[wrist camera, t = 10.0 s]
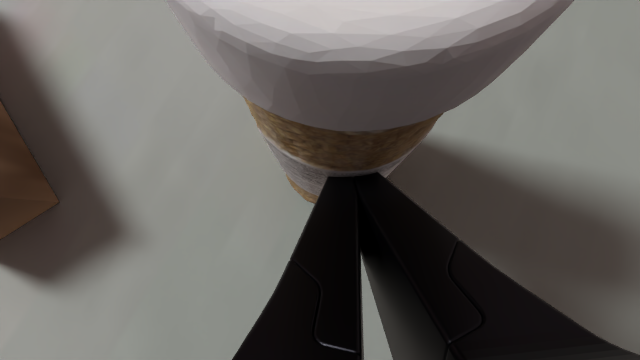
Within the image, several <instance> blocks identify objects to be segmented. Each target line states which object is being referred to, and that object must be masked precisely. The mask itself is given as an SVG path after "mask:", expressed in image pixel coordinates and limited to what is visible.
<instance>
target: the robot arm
mask: <svg viewBox="0 0 640 360" xmlns="http://www.w3.org/2000/svg"><path fill="white" fill-rule="evenodd" d="M361 256H362V259H363V263H364V266H365V269H366V273H367V276H368V279H369V282H370V286H371V289H372V292H373V295H374V299H375V302H376V305H377V308H378V312H379V315H380V318H381V321H382V325H383V328H384V331H385V334H386V338H387V341H388V344H389V348H390V351H391V354H392V357H393V360H640V355H638V354H635V353H632V352H630V351H627V350H624V349H622V348H620V347H618V346H615V345H613V344H611V343H609V342H607V341H605V340H603V339H602V338H600V337H598V336H596V335H595V334H593V333H591V332H590V331H588V330H587V329H585V328H583V327H582V326H580V325H579V324H577V323H576V322H574V321H573V320H572V319H570V318H569V317H567V316H566V315H564V314H563V313H561V312H560V311H558V310H557V309H555V308H554V307H552V306H551V305H549V304H548V303H546V302H545V301H543V300H542V299H540V298H539V297H537V296H536V295H534V294H533V293H531V292H530V291H528V290H527V289H525V288H524V287H522V286H521V285H519V284H518V283H517V282H515V281H514V280H512V279H511V278H510V277H508V276H507V275H505V274H504V273H502V272H501V271H500V270H498V269H497V268H495V267H494V266H493V265H491V264H490V263H489V262H488V261H486V260H485V259H484V258H482V257H481V256H480V255H479V254H477V253H476V252H475V251H474V250H472V249H471V248H470V247H469V246H467V245H466V244H465V243H464V242H463V241H461V240H459V239H458V237H456V236H455V235H454V234H453V233H451V232H450V231H449V230H448V229H447V228H445V227H444V226H443V225H442V224H441V223H439V222H438V221H437V220H436V219H434V218H433V217H432V216H431V215H430V214H428V213H427V212H426V211H425V210H424V209H422V208H421V207H420V206H419V205H417V204H416V203H415V202H414V201H413V200H411V199H410V198H409V197H408V196H407V195H405V194H404V193H403V192H402V191H401V190H399V189H398V188H397V187H396V186H394V185H393V184H392V183H391V182H390V181H388V180H387V179H386V178H385V177H384V176H382V175H381V174H380V173H379V172H376V173H372V174H368V175H362V176H354V177H330V176H329V177H327V179H326V181H325V184H324V186H323V188H322V190H321V192H320V194H319V197H318V199H317V201H316V203H315V205H314V208H313V210H312V212H311V214H310V216H309V219H308V221H307V223H306V225H305V227H304V229H303V232H302V234H301V236H300V238H299V240H298V243H297V245H296V247H295V249H294V251H293V253H292V256H291V258H290V261H289V262H288V264H287V266H286V268H285V271H284V273H283V275H282V277H281V279H280V281H279V283H278V285H277V287H276V289H275V291H274V293H273V295H272V296H271V298H270V300H269V301H268V303H267V305H266V306H265V308H264V310H263V311H262V313H261V315H260V316H259V318H258V319H257V321H256V323H255V324H254V326H253V327H252V329H251V331H250V332H249V334H248V335H247V337H246V338H245V340H244V342H243V343H242V345H241V346H240V348H239V349H238V351H237V353H236V354H235V356H234V357H233V359H232V360H364V346H363V314H362V282H361Z"/></svg>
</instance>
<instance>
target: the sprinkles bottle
mask: <svg viewBox="0 0 640 360" xmlns="http://www.w3.org/2000/svg"><path fill="white" fill-rule="evenodd" d="M573 1H574V0H165V2H166V3H167V5H168V6H169V8H170V9H171V11H172V12H173V14H174V15H175V17H176V18H177V20H178V21H179V23H180V24H181V26H182V27H183V29H184V30H185V32H186V33H187V35H188V36H189V38H190V39H191V41H192V42H193V44H194V45H195V46H196V48H197V49H198V51H199V52H200V54H201V55H202V56H203V58H204V59H205V60H206V62H207V63H208V64H209V65H210V67H211V68H212V69H213V70H214V71H215V72H216V73H217V74H218V75H219V76H220V77H221V78H222V79H223V80H224V81H225V82H226V83H227V84H229V85H230V86H231V87H232V88H234V89H235V90H236V91H237V92H239V93H240V94H241V95H242V96H243V97H244V99H245V101H246V103H247V105H248V106H249V109H250V111H251V114H252V116H253V117H254V119H255V120H256V123H257V127H258V129H259V131H260V133H261V135H262V137H263V138H264V140H265V142H266V143H267V145H268V147H269V149H270V150H271V152H272V153H273V155H274V156H275V158H276V159H277V161H278V163H279V164H280V166H281V167H282V169H283V171H284V172H285V173H286V176H287V179H288V180H289V182H290V184H291V185H292V186H293V188H294V189H295V190H296V191H297V192H298V193H299V194H300V195H301V196H302V197H303V198H304V199H306V200H307V201H309V202H312V203H316V201H317V199H318V197H319V194H320V192H321V190H322V188H323V186H324V184H325V181H326V179H327V177H329V176H330V177H354V176H362V175H368V174H372V173H376V172H379V173H380V174H381V175H382V176H384V177H385V178H386V177H387V176H388V175H389V174H390V173H391V172H392V171H393V170H394V169H395V168H396V167H397V166H398V165H399V164H400V163H401V162H402V161H403V160H404V159H405V158H406V157H407V156H408V155H409V154H410V153H411V152H412V151H413V150H414V149H415V148H416V147H417V146H418V145H419V144H420V142H421V141H422V140H423V139H424V138H425V137H426V136H427V134H428V133H429V132H430V130H431V129H432V128H433V126H434V124H435V123H436V121H437V120H438V118H439V117H440V116H442V114H443V113H444V112H446V111H448V110H451V109H453V108H455V107H457V106H459V105H460V104H462V103H463V102H465V101H467V100H468V99H470V98H471V97H473V96H475V95H476V94H478V93H479V92H480V91H481V90H483V89H484V88H485V87H486V86H488V85H489V84H490V83H491V82H493V81H494V80H495V79H496V78H497V77H498V76H499V75H500V74H501V73H502V72H504V71H505V70H506V69H507V68H508V67H509V66H510V65H511V64H512V63H513V62H514V61H515V60H516V59H517V58H519V57H520V56H521V55H522V54H523V53H524V52H525V51H526V50H527V49H528V48H529V47H530V46H531V45H532V44H533V43H534V42H535V41H536V40H537V39H538V38H539V36H540V35H541V34H542V33H543V32H544V31H545V30H546V29H547V28H548V27H549V26H550V25H551V24H552V23H553V22H554V21H555V20H556V19H557V18H558V17H559V16H560V15H561V14H562V13H563V12H564V11H565V10H566V9H567V8H568V7H569V5H570V4H571V3H572V2H573Z"/></svg>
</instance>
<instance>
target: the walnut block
mask: <svg viewBox="0 0 640 360" xmlns="http://www.w3.org/2000/svg"><path fill="white" fill-rule="evenodd" d="M57 203H59V201H58V199H57V197H56V196H55V194H54V192H53V190H52V189H51V187H50V185H49V184H48V182H47V180H46V178H45V177H44V175H43V173H42V172H41V170H40V168H39V166H38V165H37V163H36V161H35V160H34V158H33V156H32V155H31V153H30V151H29V149H28V148H27V146H26V144H25V143H24V141H23V139H22V137H21V136H20V134H19V132H18V131H17V129H16V127H15V125H14V124H13V122H12V120H11V119H10V117H9V115H8V113H7V112H6V110H5V108H4V107H3V105H2V103H1V101H0V239H2V238H4V237H5V236H7V235H8V234H10V233H12V232H13V231H15V230H16V229H18V228H19V227H21V226H23V225H24V224H26V223H27V222H29V221H30V220H32V219H34V218H35V217H37V216H38V215H40V214H41V213H43V212H45V211H46V210H48V209H49V208H51V207H53V206H54V205H56V204H57Z"/></svg>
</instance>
